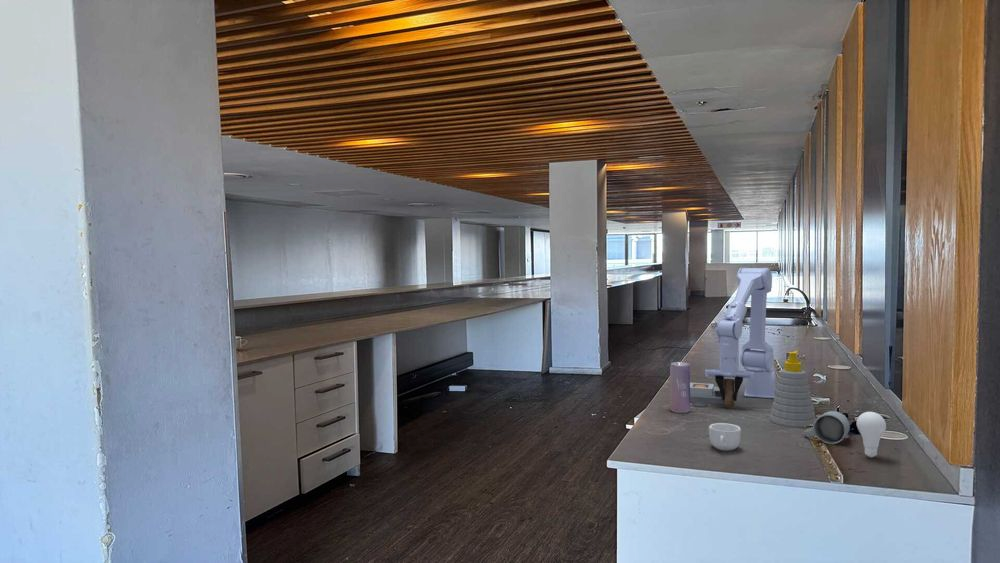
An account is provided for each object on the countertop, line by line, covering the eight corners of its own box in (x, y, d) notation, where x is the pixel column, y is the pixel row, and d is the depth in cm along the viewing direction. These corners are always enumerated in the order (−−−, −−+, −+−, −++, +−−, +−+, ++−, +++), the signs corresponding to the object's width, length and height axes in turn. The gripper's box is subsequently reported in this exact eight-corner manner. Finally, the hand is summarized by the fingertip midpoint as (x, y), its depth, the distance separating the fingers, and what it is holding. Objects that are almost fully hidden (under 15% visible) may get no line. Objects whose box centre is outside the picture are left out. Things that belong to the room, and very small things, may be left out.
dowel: (734, 406, 201) (734, 378, 201) (733, 408, 199) (733, 380, 198) (724, 405, 203) (724, 378, 202) (723, 408, 200) (723, 380, 199)
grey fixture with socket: (729, 397, 214) (729, 384, 213) (728, 405, 204) (728, 391, 203) (690, 394, 219) (690, 381, 219) (686, 402, 209) (686, 388, 208)
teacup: (711, 442, 165) (711, 421, 165) (742, 445, 162) (742, 425, 162) (705, 453, 157) (705, 431, 156) (737, 457, 153) (737, 435, 153)
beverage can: (688, 408, 200) (687, 361, 199) (691, 413, 194) (691, 365, 193) (668, 408, 201) (668, 362, 200) (672, 413, 195) (671, 365, 194)
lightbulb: (850, 453, 154) (851, 409, 153) (874, 452, 154) (874, 408, 154) (867, 462, 148) (867, 415, 147) (891, 460, 148) (892, 414, 148)
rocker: (726, 391, 212) (726, 387, 212) (725, 391, 206) (725, 387, 206) (715, 391, 213) (715, 387, 214) (713, 390, 207) (713, 386, 207)
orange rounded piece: (706, 389, 213) (706, 385, 213) (705, 391, 210) (705, 387, 210) (695, 388, 214) (695, 384, 214) (694, 390, 211) (694, 386, 211)
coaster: (707, 404, 205) (707, 403, 205) (706, 407, 201) (706, 406, 201) (693, 403, 207) (692, 402, 207) (691, 406, 202) (691, 405, 202)
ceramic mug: (851, 438, 166) (850, 409, 166) (845, 446, 159) (845, 416, 159) (807, 432, 172) (806, 405, 172) (800, 440, 166) (800, 411, 166)
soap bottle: (822, 420, 183) (822, 351, 182) (808, 430, 174) (808, 357, 173) (778, 413, 192) (778, 347, 191) (763, 422, 183) (763, 353, 182)
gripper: (704, 358, 199) (704, 401, 200) (753, 360, 193) (753, 404, 194) (706, 355, 205) (706, 396, 206) (753, 357, 200) (753, 399, 200)
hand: (729, 399), depth 200 cm, fingers closed on dowel, 3 cm apart
